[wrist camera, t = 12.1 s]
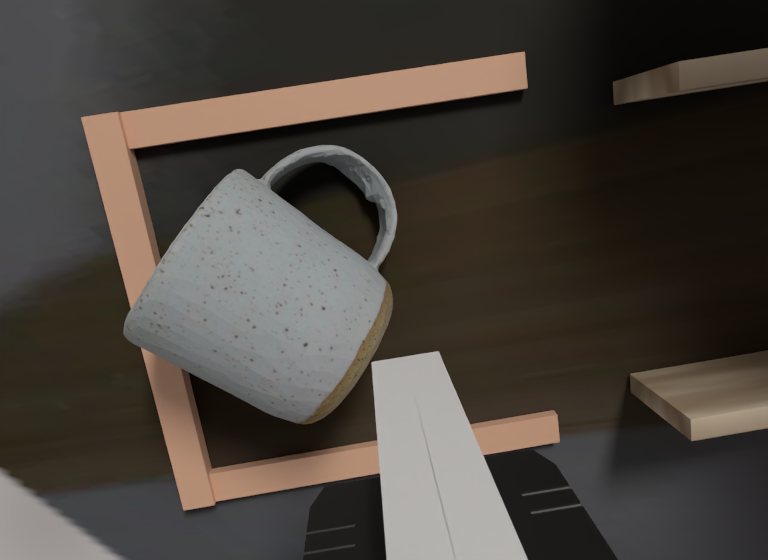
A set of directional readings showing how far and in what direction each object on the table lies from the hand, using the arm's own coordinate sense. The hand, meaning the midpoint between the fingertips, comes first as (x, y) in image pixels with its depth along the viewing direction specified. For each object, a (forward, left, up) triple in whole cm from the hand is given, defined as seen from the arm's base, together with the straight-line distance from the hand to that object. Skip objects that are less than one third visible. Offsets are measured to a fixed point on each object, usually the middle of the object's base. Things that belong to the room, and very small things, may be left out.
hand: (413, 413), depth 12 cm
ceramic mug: (-2, -4, -14) cm, 15 cm away
